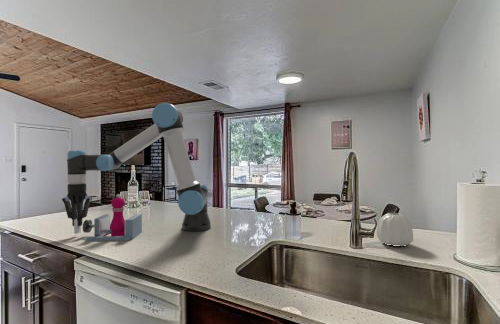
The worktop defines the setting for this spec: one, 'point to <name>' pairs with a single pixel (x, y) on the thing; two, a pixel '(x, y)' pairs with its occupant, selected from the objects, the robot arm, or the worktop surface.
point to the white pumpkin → (394, 229)
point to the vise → (131, 230)
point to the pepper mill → (118, 217)
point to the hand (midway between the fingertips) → (77, 232)
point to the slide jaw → (98, 225)
